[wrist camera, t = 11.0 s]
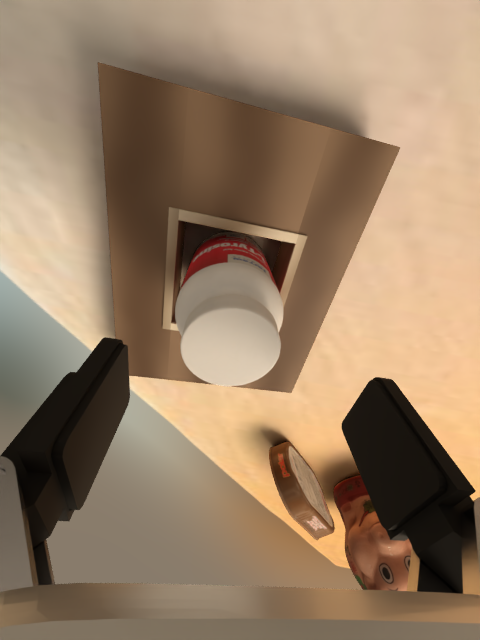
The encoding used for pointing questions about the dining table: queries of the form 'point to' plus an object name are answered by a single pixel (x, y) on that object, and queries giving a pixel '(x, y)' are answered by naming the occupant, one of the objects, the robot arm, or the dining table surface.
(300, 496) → the tin
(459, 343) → the dining table surface
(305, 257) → the socket board
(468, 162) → the dining table surface
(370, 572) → the decorative planter
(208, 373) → the pill bottle
